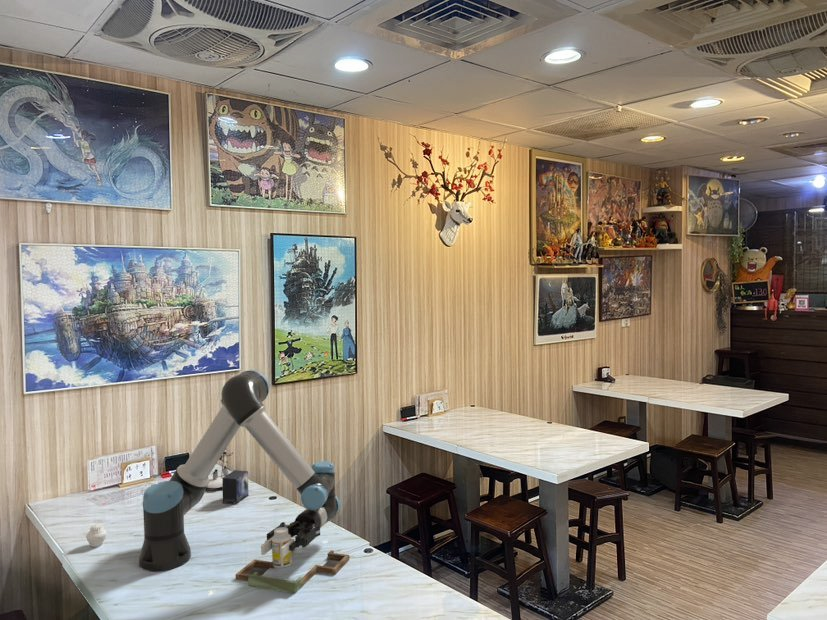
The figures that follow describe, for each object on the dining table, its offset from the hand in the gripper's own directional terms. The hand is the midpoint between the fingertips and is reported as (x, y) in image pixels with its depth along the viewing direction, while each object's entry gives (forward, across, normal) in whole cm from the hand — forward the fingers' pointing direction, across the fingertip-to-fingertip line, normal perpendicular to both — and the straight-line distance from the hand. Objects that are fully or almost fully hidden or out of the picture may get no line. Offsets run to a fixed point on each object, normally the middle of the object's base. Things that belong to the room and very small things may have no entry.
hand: (272, 551), depth 173 cm
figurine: (-75, +71, -11) cm, 103 cm away
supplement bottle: (-5, 0, -6) cm, 8 cm away
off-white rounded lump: (-9, +73, -10) cm, 74 cm away
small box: (-60, +53, -11) cm, 81 cm away
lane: (-13, 0, -11) cm, 17 cm away
